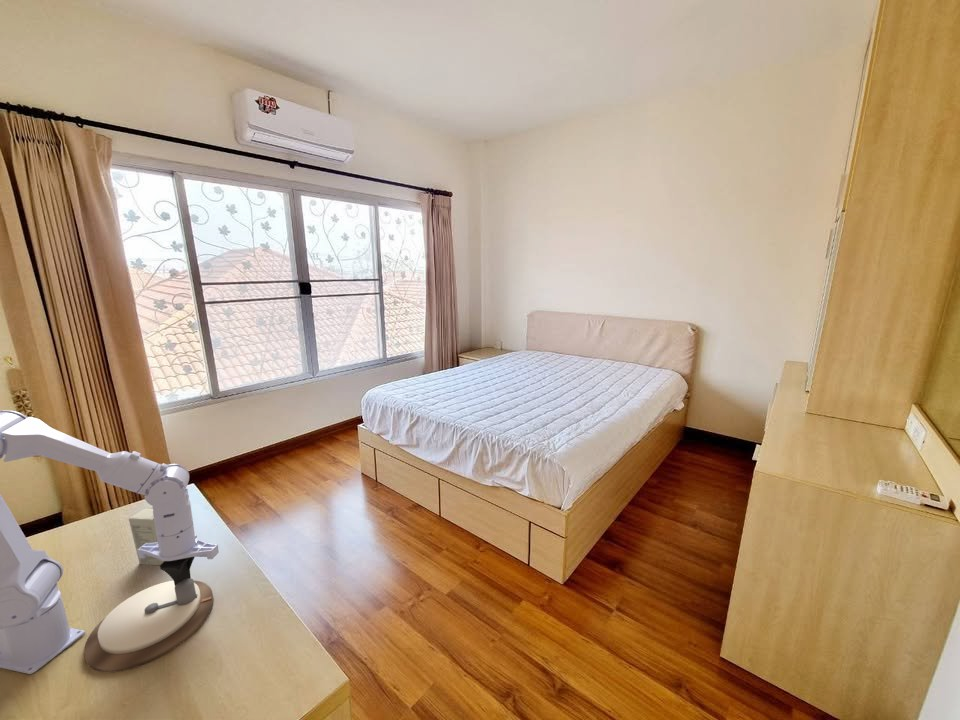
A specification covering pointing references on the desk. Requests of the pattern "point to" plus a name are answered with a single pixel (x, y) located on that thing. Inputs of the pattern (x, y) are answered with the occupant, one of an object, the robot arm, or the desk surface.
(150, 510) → the skincare box
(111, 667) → the dial base
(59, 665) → the desk surface
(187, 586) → the dial
